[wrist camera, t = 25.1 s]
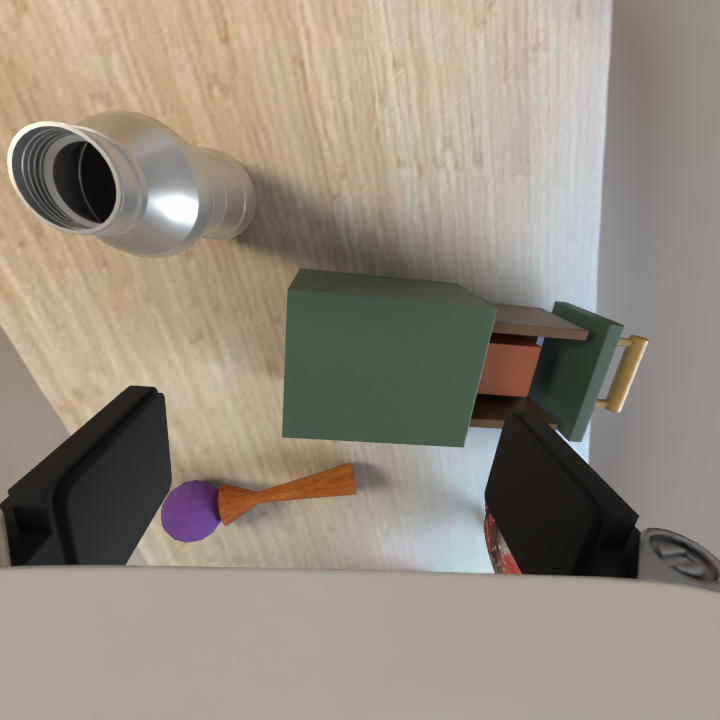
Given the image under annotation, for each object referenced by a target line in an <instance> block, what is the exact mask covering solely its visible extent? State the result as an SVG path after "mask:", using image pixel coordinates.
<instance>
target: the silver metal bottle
mask: <svg viewBox="0 0 720 720" xmlns="http://www.w3.org/2000/svg"><path fill="white" fill-rule="evenodd" d="M7 163H8V172H9V176H10V180H11V182H12V185H13V187H14V190H15V191H16V193H17V195H18V196H19V198H20V199H21V201H22V202H23V203H24V205H25V206H26V207H27V208H28V209H29V210H30V211H31V212H32V213H33V214H34V215H35V216H36V217H37V218H39V219H40V220H42V221H43V222H45V223H46V224H47V225H49V226H51V227H53V228H56V229H58V230H60V231H64V232H67V233H72V234H79V235H94V236H96V237H97V238H98V239H100V240H101V241H103V242H104V243H106V244H108V245H110V246H112V247H114V248H116V249H118V250H120V251H123V252H126V253H130V254H133V255H136V256H140V257H148V258H162V257H168V256H172V255H175V254H178V253H180V252H182V251H184V250H186V249H188V248H189V247H191V246H193V245H194V244H195V243H196V242H197V241H198V240H199V239H201V238H202V237H203V238H206V239H213V240H227V239H230V238H234V237H236V236H238V235H240V234H241V233H242V232H244V231H245V230H246V229H247V228H248V226H249V225H250V223H251V222H252V220H253V217H254V215H255V211H256V206H257V197H256V192H255V188H254V186H253V183H252V180H251V178H250V177H249V175H248V173H247V172H246V170H245V169H244V168H243V167H242V165H241V164H240V163H239V162H237V161H236V160H235V159H234V158H233V157H231V156H229V155H228V154H226V153H224V152H222V151H219V150H216V149H211V148H193V147H192V146H191V145H190V144H189V143H188V142H187V141H186V140H185V139H183V138H182V137H181V136H180V135H178V134H177V133H176V132H175V131H173V130H172V129H170V128H169V127H168V126H166V125H164V124H163V123H161V122H159V121H157V120H155V119H154V118H151V117H149V116H146V115H143V114H140V113H136V112H129V111H109V112H104V113H100V114H97V115H94V116H90V117H87V118H86V119H84V120H83V121H81V122H79V123H78V124H76V125H74V126H72V125H69V124H66V123H61V122H54V121H46V122H37V123H34V124H30V125H28V126H26V127H25V128H23V129H22V130H20V131H19V132H18V133H17V135H16V136H15V137H14V138H13V140H12V142H11V144H10V146H9V151H8V156H7Z"/></svg>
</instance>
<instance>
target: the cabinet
mask: <svg viewBox="0 0 720 720" xmlns="http://www.w3.org/2000/svg"><path fill="white" fill-rule="evenodd" d="M496 311H497V308H496V307H494V306H492V305H491V304H489V303H487V302H486V301H484V300H482V299H481V298H479V297H478V296H476V295H474V294H473V293H471V292H469V291H468V290H466V289H464V288H463V287H461V286H460V285H458V284H455V283H444V282H434V281H424V280H414V279H404V278H393V277H383V276H373V275H363V274H353V273H343V272H332V271H322V270H312V269H302V268H301V269H300V270H299V271H298V273H297V275H296V276H295V278H294V280H293V282H292V283H291V285H290V287H289V288H288V296H287V322H286V349H285V376H284V402H283V429H282V437H288V438H306V439H323V440H341V441H359V442H377V443H395V444H413V445H430V446H448V447H464V444H465V440H466V436H467V432H468V428H469V424H470V420H471V415H472V411H473V407H474V403H475V399H476V395H477V390H478V386H479V382H480V378H481V374H482V370H483V366H484V361H485V357H486V353H487V349H488V345H489V341H490V336H491V332H492V328H493V324H494V320H495V316H496Z"/></svg>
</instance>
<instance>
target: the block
mask: <svg viewBox="0 0 720 720" xmlns="http://www.w3.org/2000/svg"><path fill="white" fill-rule="evenodd" d="M540 351H541V347H540V346H538V345H537V344H535V343H534V342H532V341H531V340H529V339H528V338H526V337H525V336H523V335H516V334H505V333H493V332H491V336H490V341H489V345H488V349H487V353H486V357H485V361H484V366H483V370H482V374H481V378H480V382H479V386H478V390H477V394H491V395H505V396H519V397H527V395H528V392H529V388H530V385H531V381H532V378H533V375H534V371H535V368H536V364H537V361H538V358H539V354H540Z"/></svg>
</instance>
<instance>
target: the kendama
mask: <svg viewBox="0 0 720 720" xmlns="http://www.w3.org/2000/svg"><path fill="white" fill-rule="evenodd" d="M353 494H357V493H356V487H355V481H354V476H353V470H352V465H351V463H348V464H345V465H341V466H338V467H335V468H332V469H329V470H326V471H323V472H319V473H316V474H313V475H310V476H307V477H304V478H300V479H297V480H294V481H291V482H288V483H285V484H282V485H278V486H275V487H272V488H269V489H266V490H263V491H260V492H255V491H251V490H247V489H243V488H239V487H235V486H231V485H227V484H222V485H221V486H220V489H219V490H218V489H217V488H216V487H215V486H213V485H212V484H211V483H208V482H204V481H199V480H194V481H189V482H185V483H183V484H182V485H180V486H178V487H177V488H175V489H174V490H173V491H171V492H170V494H169V495H168V497H167V498H166V500H165V501H164V503H163V505H162V510H161V521H162V526H163V528H164V530H165V531H166V532H167V533H168V534H169V535H170V536H171V537H172V538H173V539H175V540H178V541H182V542H193V541H197V540H202V539H204V538H205V537H207V536H208V535H210V534H211V533H213V531H214V530H215V528H216V527H217V526H218V524H219V523H220V521H221V520H222V522H223V524H224V525H228V524H230V523H231V522H233V521H234V520H236V519H237V518H238V517H240V516H241V515H243V514H244V513H245V512H247V511H248V510H250V509H251V508H252V507H254V506H255V505H257V504H258V503H262V502H273V501H285V500H296V499H308V498H319V497H330V496H342V495H353Z"/></svg>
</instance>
